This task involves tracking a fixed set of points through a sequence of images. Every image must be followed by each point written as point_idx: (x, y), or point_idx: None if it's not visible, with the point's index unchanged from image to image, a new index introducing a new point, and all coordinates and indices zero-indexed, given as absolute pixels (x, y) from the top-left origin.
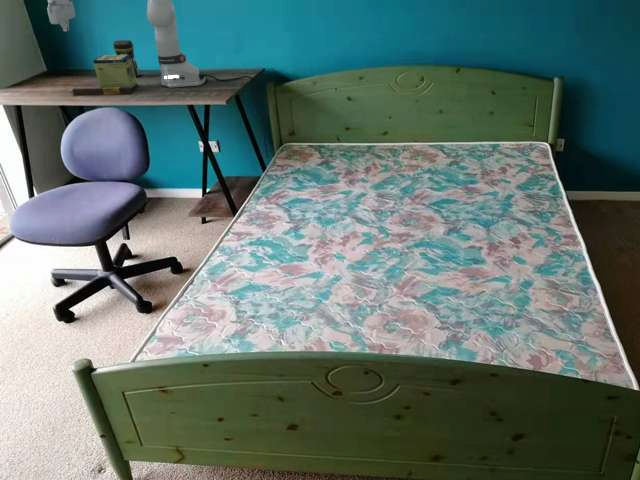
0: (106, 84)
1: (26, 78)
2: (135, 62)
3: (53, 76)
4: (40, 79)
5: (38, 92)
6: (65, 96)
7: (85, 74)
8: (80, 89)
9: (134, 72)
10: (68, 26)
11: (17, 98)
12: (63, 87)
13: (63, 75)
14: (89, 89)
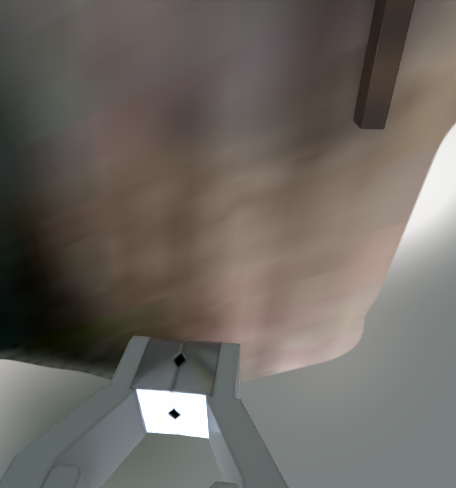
0: None
1: (101, 375)
2: None
3: (62, 314)
4: (106, 338)
5: (282, 292)
6: (381, 160)
7: (5, 212)
8: (395, 77)
9: None
10: (120, 386)
11: (353, 329)
12: (215, 227)
13: (42, 288)
14: (411, 9)
